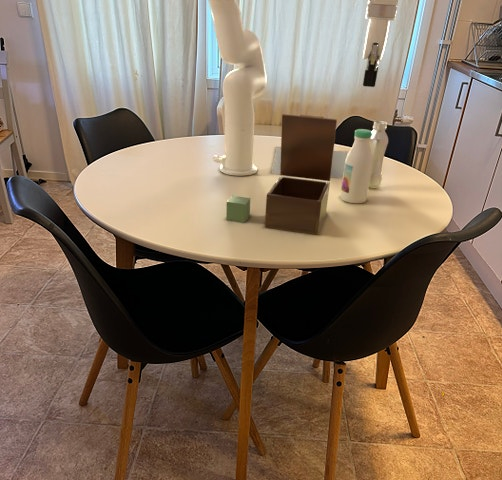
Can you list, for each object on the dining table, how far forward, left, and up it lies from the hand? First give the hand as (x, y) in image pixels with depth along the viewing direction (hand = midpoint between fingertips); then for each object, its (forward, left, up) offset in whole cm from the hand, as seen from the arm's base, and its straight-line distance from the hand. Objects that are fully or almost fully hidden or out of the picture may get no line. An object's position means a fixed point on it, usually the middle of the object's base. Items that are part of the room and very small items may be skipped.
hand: (369, 84), depth 133 cm
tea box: (-12, -29, -31) cm, 44 cm away
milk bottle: (+1, -7, -31) cm, 32 cm away
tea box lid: (-12, -23, -14) cm, 30 cm away
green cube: (-27, -33, -31) cm, 53 cm away
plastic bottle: (+5, +7, -31) cm, 32 cm away
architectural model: (-17, +28, -31) cm, 45 cm away
